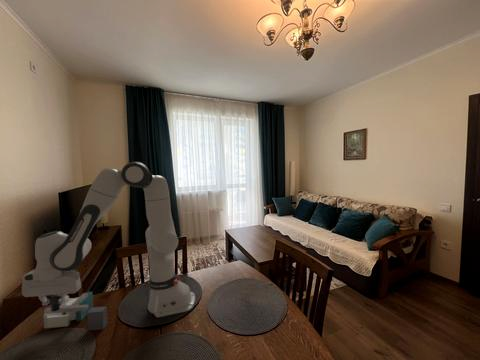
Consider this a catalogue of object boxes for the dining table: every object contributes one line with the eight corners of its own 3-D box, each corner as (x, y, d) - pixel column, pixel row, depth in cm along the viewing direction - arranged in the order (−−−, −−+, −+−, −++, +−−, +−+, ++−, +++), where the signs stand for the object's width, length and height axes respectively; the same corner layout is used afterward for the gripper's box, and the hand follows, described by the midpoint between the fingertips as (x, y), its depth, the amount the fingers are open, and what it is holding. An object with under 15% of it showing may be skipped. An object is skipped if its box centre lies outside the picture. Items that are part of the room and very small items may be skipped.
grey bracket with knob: (105, 306, 102) (103, 277, 101) (86, 330, 87) (84, 296, 86) (69, 309, 100) (68, 279, 100) (44, 334, 85) (41, 299, 85)
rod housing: (107, 323, 91) (106, 306, 91) (103, 329, 88) (102, 311, 87) (92, 325, 90) (91, 307, 90) (88, 330, 87) (87, 312, 87)
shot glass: (75, 321, 92) (74, 306, 92) (61, 321, 93) (59, 306, 93) (87, 311, 99) (86, 296, 99) (74, 310, 100) (73, 296, 99)
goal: (87, 306, 103) (86, 294, 103) (67, 326, 90) (66, 312, 90) (66, 307, 102) (66, 295, 102) (44, 328, 89) (43, 314, 89)
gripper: (83, 266, 90) (85, 297, 91) (31, 269, 88) (33, 301, 89) (73, 273, 84) (75, 306, 85) (17, 277, 82) (19, 311, 83)
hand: (53, 303), depth 87 cm, fingers open, 4 cm apart
